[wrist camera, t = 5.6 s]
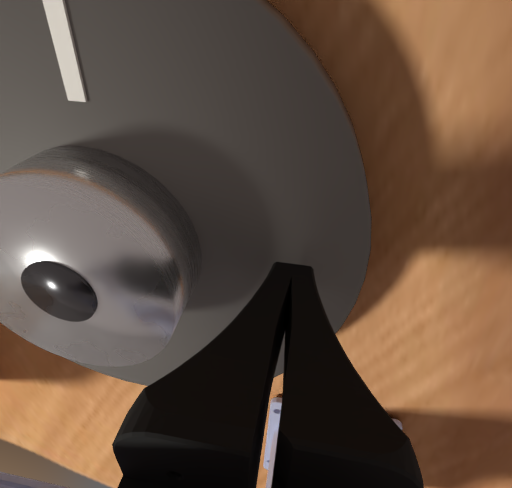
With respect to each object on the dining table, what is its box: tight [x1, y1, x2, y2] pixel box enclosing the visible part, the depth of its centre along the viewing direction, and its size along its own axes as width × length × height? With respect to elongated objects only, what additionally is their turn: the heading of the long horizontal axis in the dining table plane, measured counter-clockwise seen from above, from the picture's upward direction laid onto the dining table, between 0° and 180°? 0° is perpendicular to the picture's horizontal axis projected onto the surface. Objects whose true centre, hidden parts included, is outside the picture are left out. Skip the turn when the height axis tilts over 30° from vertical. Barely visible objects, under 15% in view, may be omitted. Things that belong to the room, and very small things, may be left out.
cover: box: [0, 146, 202, 367], centre depth 13 cm, size 8×8×3 cm
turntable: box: [0, 0, 371, 386], centre depth 14 cm, size 20×20×5 cm
